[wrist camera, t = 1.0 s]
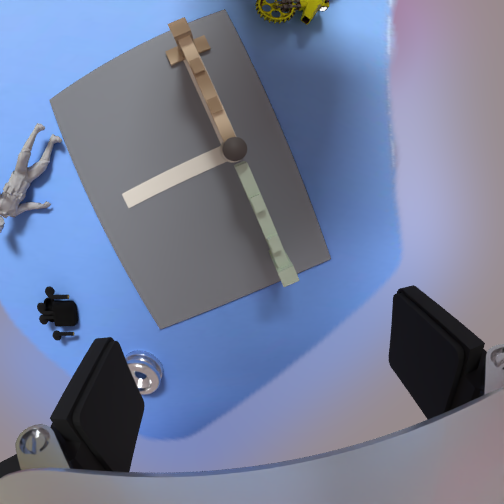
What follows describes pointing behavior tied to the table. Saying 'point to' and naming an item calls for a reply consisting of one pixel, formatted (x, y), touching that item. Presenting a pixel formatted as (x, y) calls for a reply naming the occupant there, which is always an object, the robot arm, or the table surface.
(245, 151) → the fence fixed section
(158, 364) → the grooved metal pulley
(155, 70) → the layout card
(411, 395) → the robot arm
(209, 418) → the table surface
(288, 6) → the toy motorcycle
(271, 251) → the fence swing section
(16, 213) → the soldier figure
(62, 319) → the wireless earbuds
